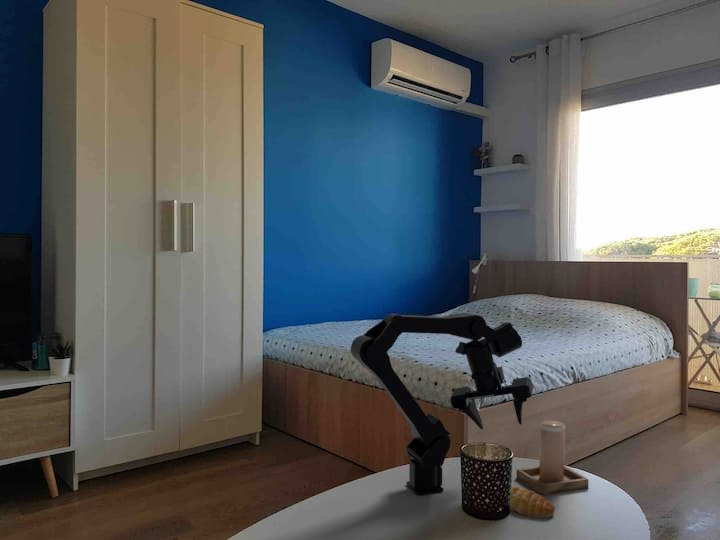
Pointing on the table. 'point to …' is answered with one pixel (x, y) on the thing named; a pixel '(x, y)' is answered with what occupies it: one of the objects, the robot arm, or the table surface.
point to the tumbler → (551, 451)
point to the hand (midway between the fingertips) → (501, 426)
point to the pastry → (530, 503)
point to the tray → (570, 482)
